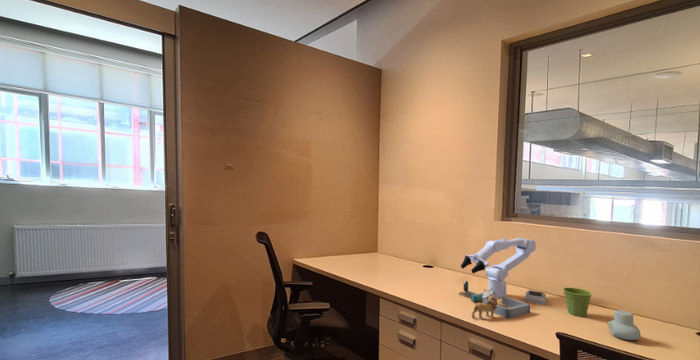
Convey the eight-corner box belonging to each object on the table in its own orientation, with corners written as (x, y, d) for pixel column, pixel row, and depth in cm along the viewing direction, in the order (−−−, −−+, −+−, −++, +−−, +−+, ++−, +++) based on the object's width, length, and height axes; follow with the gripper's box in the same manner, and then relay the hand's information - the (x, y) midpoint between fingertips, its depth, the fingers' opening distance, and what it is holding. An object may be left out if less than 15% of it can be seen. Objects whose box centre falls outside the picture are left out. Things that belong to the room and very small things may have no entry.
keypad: (525, 295, 168) (526, 288, 181) (525, 302, 168) (526, 295, 181) (545, 299, 163) (545, 292, 176) (545, 306, 163) (545, 298, 176)
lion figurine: (490, 313, 149) (490, 294, 149) (500, 317, 144) (500, 297, 144) (468, 317, 142) (468, 297, 143) (477, 322, 138) (477, 301, 138)
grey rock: (493, 313, 159) (503, 301, 154) (477, 305, 161) (486, 293, 155) (493, 300, 166) (502, 288, 161) (477, 293, 168) (486, 281, 163)
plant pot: (557, 311, 154) (557, 288, 155) (572, 308, 159) (572, 286, 159) (582, 320, 143) (582, 295, 144) (598, 317, 148) (597, 293, 149)
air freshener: (642, 345, 120) (642, 319, 120) (615, 340, 123) (615, 315, 124) (631, 334, 130) (631, 310, 130) (606, 330, 133) (606, 306, 134)
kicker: (470, 293, 178) (470, 280, 178) (487, 299, 168) (487, 285, 169) (457, 295, 173) (457, 282, 173) (473, 301, 163) (473, 287, 163)
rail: (462, 293, 178) (462, 291, 178) (477, 299, 169) (477, 296, 169) (458, 294, 177) (459, 292, 177) (473, 299, 168) (473, 297, 168)
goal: (503, 303, 163) (503, 296, 163) (530, 312, 151) (530, 304, 151) (482, 308, 155) (482, 300, 155) (508, 318, 143) (508, 309, 143)
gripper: (471, 245, 180) (454, 259, 176) (491, 253, 167) (474, 268, 163) (474, 255, 182) (458, 269, 178) (495, 263, 169) (479, 278, 165)
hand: (466, 269), depth 170 cm, fingers open, 7 cm apart
